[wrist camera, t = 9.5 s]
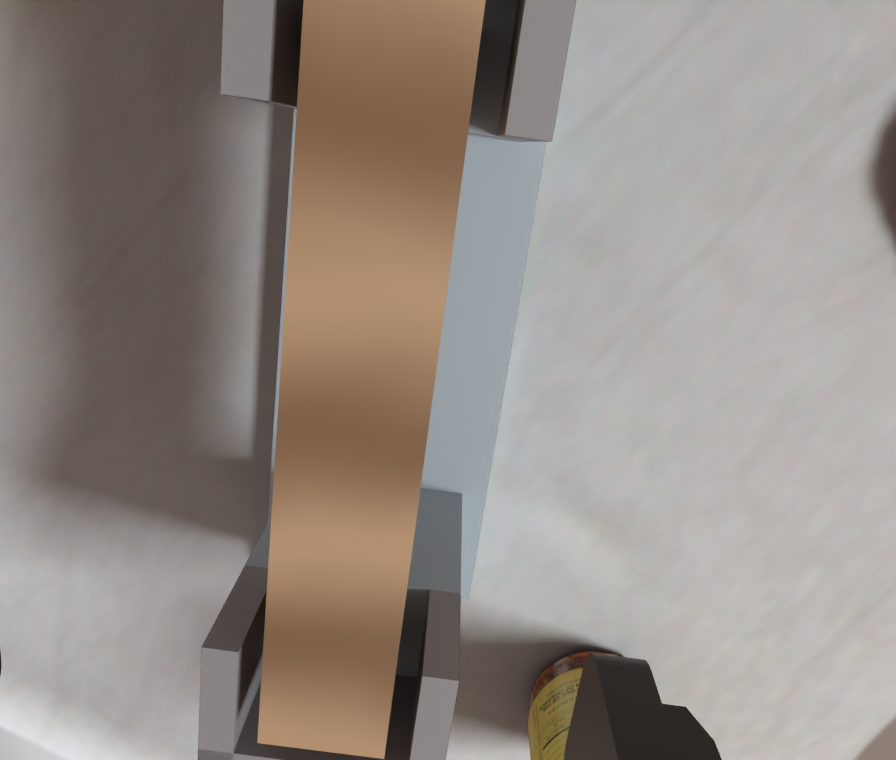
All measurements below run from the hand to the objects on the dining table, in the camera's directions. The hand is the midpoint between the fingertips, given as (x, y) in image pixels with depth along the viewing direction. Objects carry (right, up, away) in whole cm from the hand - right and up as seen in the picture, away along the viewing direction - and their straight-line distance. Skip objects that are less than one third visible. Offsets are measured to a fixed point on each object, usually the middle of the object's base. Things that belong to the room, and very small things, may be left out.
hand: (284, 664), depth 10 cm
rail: (0, +4, +11) cm, 12 cm away
